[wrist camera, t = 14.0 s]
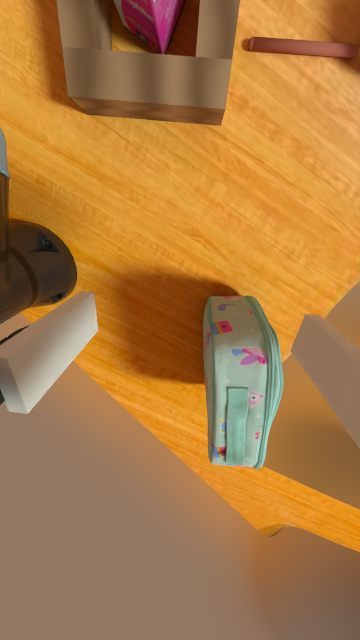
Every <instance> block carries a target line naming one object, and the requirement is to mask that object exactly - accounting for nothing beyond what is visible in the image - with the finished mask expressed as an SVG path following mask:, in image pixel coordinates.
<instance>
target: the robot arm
mask: <svg viewBox="0 0 360 640" xmlns="http://www.w3.org/2000/svg"><path fill="white" fill-rule="evenodd" d="M9 179H10V173H9V172H8V164H7V151H6V140H5V136H4V134H3V131H2V129H1V128H0V324H1V323H3V322H4V321H6V320H8V319H10V318H11V317H13V316H15V315H16V314H18V313H20V312H22V311H23V310H25V309H27V308H30V307H38V306H46V305H52V304H55V303H57V302H59V301H61V300H63V299H64V298H66V297H67V296H68V295H69V294H70V293H71V292H72V291H73V289H74V287H75V284H76V280H77V269H76V265H75V261H74V259H73V256H72V254H71V252H70V251H69V249H68V248H67V246H66V245H65V244H64V242H63V241H62V240H61V239H60V238H59V237H58V236H57V235H55V234H54V233H53V232H51V231H50V230H48V229H47V228H45V227H43V226H40V225H38V224H34V223H29V222H17V223H9V220H8V193H9ZM97 331H98V324H97V315H96V307H95V298H94V292H86V291H81V292H80V293H78V294H77V295H75V296H74V297H72V298H71V299H69V300H68V301H66V302H65V303H63V304H62V305H60V306H59V307H57V308H56V309H54V310H53V311H51V312H50V313H48V314H47V315H45V316H44V317H42V318H40V319H39V320H37V321H36V322H34V323H33V324H31V325H29V326H26V327H24V328H21V329H19V330H17V331H15V332H14V333H12V334H11V335H9V336H8V337H6V338H4V339H3V340H1V341H0V405H1V404H2V403H3V402H4V401H5V403H6V405H7V408H8V410H9V411H10V412H18V413H27V414H28V413H29V412H30V410H31V409H32V408H33V407H34V406H35V405H36V403H37V402H38V401H39V400H40V399H41V397H42V396H43V395H44V394H45V393H46V392H47V390H48V389H49V388H50V387H51V385H52V384H53V383H54V382H55V381H56V380H57V379H58V377H59V376H60V375H61V374H62V373H63V371H64V370H65V369H66V368H67V367H68V366H69V364H70V363H71V362H72V361H73V360H74V358H75V357H76V356H77V355H78V354H79V353H80V351H81V350H82V349H83V348H84V347H85V345H86V344H87V343H88V342H89V341H90V340H91V338H92V337H93V336H94V335H95V334H96V332H97ZM291 352H292V353H293V354H294V356H295V358H296V359H297V360H298V362H299V363H300V364H301V366H302V367H303V369H304V370H305V372H306V373H307V375H308V376H309V377H310V379H311V380H312V382H313V383H314V384H315V386H316V387H317V389H318V390H319V392H320V393H321V394H322V396H323V397H324V398H325V400H326V401H327V403H328V404H329V406H330V407H331V409H332V410H333V411H334V413H335V414H336V416H337V417H338V418H339V420H340V421H341V423H342V424H343V425H344V427H345V428H346V430H347V431H348V432H349V434H350V435H351V437H352V438H353V440H354V441H355V443H356V444H357V445H358V447H359V448H360V349H359V348H358V347H357V346H356V345H355V344H353V343H352V342H351V341H349V340H348V339H347V338H346V337H344V336H343V335H342V334H341V333H340V332H339V331H337V330H336V329H335V328H333V327H332V326H331V325H330V324H329V323H327V322H326V321H325V320H324V319H322V318H321V317H320V316H319V315H313V314H305V316H304V319H303V321H302V324H301V326H300V329H299V331H298V334H297V336H296V339H295V341H294V344H293V346H292V348H291Z"/></svg>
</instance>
